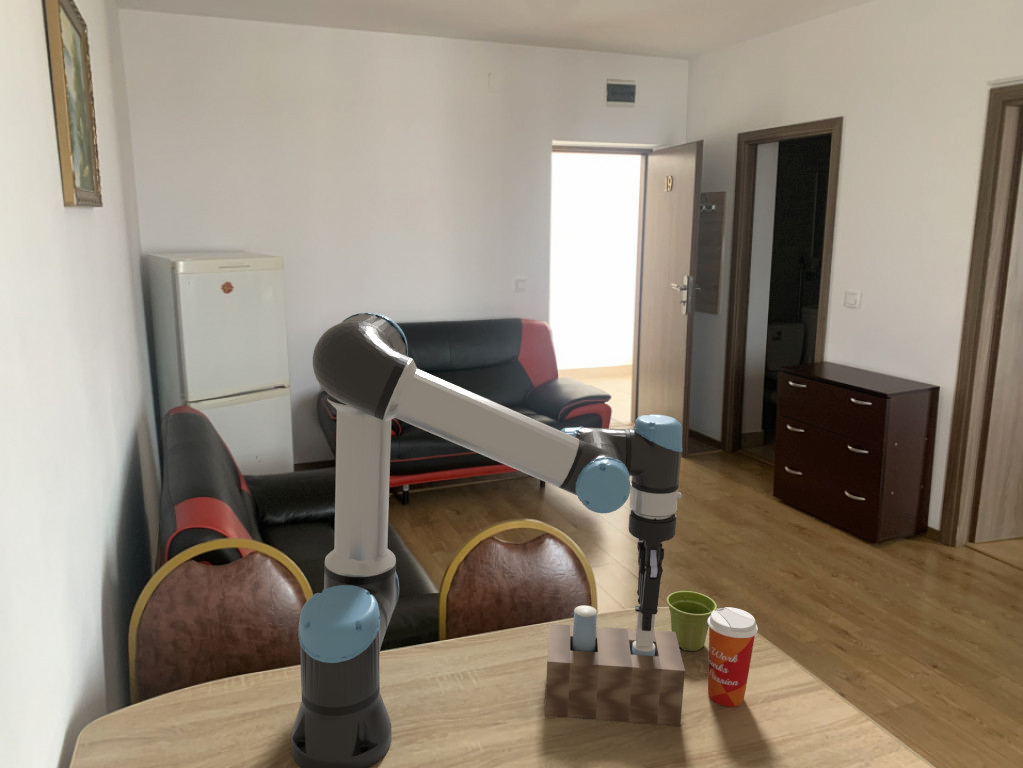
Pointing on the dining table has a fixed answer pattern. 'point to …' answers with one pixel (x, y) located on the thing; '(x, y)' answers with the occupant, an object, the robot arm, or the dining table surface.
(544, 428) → the robot arm
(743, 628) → the coffee cup
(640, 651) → the peg
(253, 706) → the dining table surface
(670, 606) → the plant pot
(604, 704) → the collar block
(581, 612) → the peg
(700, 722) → the dining table surface
